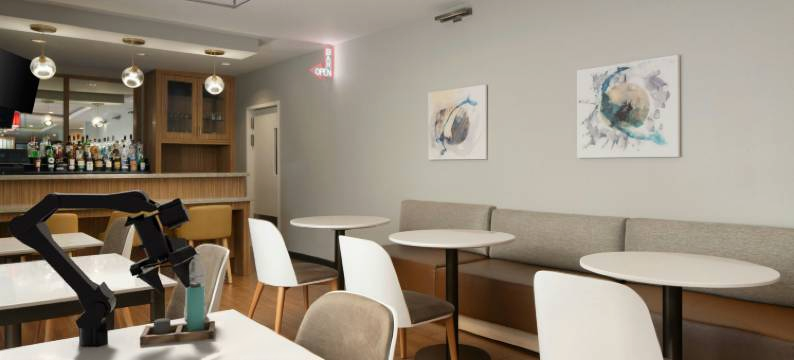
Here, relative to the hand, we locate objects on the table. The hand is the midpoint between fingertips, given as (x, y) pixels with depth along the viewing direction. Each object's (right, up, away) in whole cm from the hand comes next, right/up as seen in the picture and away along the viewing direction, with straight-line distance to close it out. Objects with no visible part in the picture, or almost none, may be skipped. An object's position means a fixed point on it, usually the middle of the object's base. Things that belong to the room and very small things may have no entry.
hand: (175, 290), depth 147 cm
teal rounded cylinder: (+5, -12, +2) cm, 13 cm away
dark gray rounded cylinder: (-3, -12, -1) cm, 13 cm away
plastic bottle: (-1, -13, +17) cm, 21 cm away
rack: (+1, -13, +1) cm, 13 cm away
